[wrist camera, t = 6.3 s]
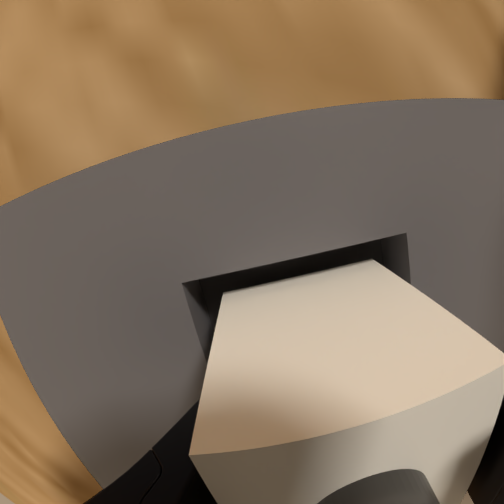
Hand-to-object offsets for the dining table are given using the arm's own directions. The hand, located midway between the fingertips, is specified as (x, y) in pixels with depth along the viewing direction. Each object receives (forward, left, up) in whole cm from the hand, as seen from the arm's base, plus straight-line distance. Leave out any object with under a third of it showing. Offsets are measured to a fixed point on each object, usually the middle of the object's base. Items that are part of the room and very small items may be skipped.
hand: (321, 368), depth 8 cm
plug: (0, 0, -2) cm, 2 cm away
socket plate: (0, 0, -3) cm, 3 cm away
